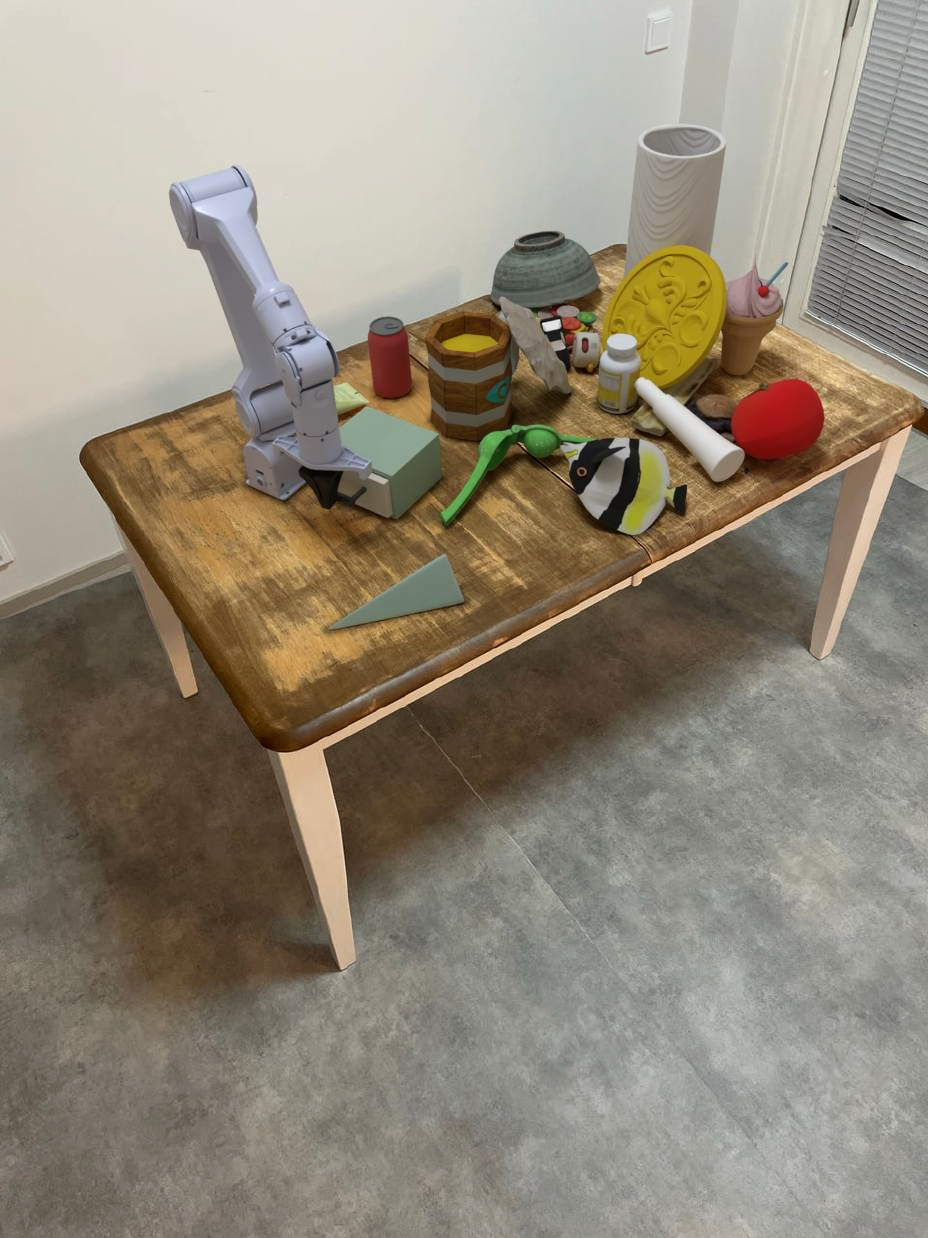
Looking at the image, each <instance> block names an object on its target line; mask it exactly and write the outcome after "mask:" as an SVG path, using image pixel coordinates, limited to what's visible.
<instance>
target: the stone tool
mask: <svg viewBox="0 0 928 1238" xmlns="http://www.w3.org/2000/svg"><path fill="white" fill-rule="evenodd" d="M499 303H500V309H501V311H502V312H503V315H504V317H505V318H506V320H507V322H508V326H509V329H510V331H511V334H512V336H513V338H514V340H515V342H516V344H517V345H518V346H519V350H520V351H521V353H522V354H523V355H524V357H525V358H526V360H527V362H528V363H529V364H528V365H529V366H530V369H531V370H532V372H533V373H534V374H535V375H536V376H537V377H539V378H540V379H541V380H542V381H543V383H544V385H545V388H547V390H550V391H551V390H552V389H553V388H554V387H555V389H557V390H558V391H559V392H560V393H562V394H565V395H568V394H569V393H572V391H573V389H572V387H571V385H570V382H569V376H568V370H566V368H565V365H564V363H563V362H562V361H561V360H559V358H558V357H557V355H556V353H555V351H554V349H553V347H552V346H551V344H550V342H549V339H548V338H547V336H546V335H544V333H543V331H542V329H541V327H540V325H539V323H538V322H537V320H536V318H535V317H534V313H533V312H532V311H531V308H523V307H521V306H520V305H517V304H514V303H512V302H511V301H509V300H508V299H506V298H505V297H500V299H499Z"/></svg>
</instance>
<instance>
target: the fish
mask: <svg viewBox="0 0 928 1238" xmlns="http://www.w3.org/2000/svg"><path fill="white" fill-rule="evenodd" d="M596 439H597V440H592V441H589V442H585V443H581V444H572V443H566V442H564V443H563V445H561V446H560V447H561V448H560V450H561V451H562V453H563V455H564V456H565V458H566V459H567V461H568V464H569V466H568V477H569V478H568V479H569V480H570V483H571V485H572V488H573V490H574V491H575V493H576V494H577V496H578V498H579V500H580V501H581V503H582V504H583V506H584V507H585V509H586V510H587V511H588V513H590V515H592V517H594V518H595V519H596V520H597V521H599V522H601V523H602V524H604V525H606V526H608V527H610V528H612V529H613V530H617V531H619V532H622V533H624V534H627V535H630V536H636V535H640V534H642V533H644V532H645V531H646V530H647V529H648V528H649V527H650V526H651V525H652V524H653V523H654V522H655V520H656V519H657V518H658V517H659V515H660V514H661V512H662V511H663V509H664V508H665V507H666V502H667V503H668V504H669V505H670V506H671V507H672V508H673V509H675V510H676V511H677V512H679V513H680V514H682V515H685V514H686V502H687V495H688V485H687V483H686V484H681V485H679V486H675V487H674V488H672V489H669V488H670V486H671V474H670V470H669V469H670V468H669V465H668V460H667V458H666V456H665V454H664V452H663V451H662V450H661V449H660V447H658V446H657V445H656V444H654V443H652V441H651V442H650V441H649V440H645V439H642V438H633V437H604V438H596Z"/></svg>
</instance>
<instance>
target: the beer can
mask: <svg viewBox="0 0 928 1238" xmlns="http://www.w3.org/2000/svg"><path fill="white" fill-rule="evenodd" d="M368 327H369V329H368V333H367V345H368V354H369V361H370V370H371V379H372V386H373V391H374V392H375V393H376V394H377V395H379V396H380V397H382V398H387V399H395V398H400V397H402V396H405V395H406V394H408V393H409V392H410V390H411V389H412V386H413V380H412V369H411V357H410V356H411V355H410V346H409V345H410V344H409V335H408V332H407V329H406V327H405V325H404V322H403V320H402V319H400V318H399V317H396V316H388V315H387V316H381V317H378V318H375V319H373V320H372V321H371V322H370V323H369V326H368Z"/></svg>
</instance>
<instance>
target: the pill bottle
mask: <svg viewBox="0 0 928 1238" xmlns="http://www.w3.org/2000/svg"><path fill="white" fill-rule="evenodd" d="M606 348H607V350H606V351H605V352H604V353H603V352H602V353H601V355H600V358H599V366H598V367H599V368H598V381H597V398H596V400H597V405H598V407H599V408H600V409H602V410H603V411H604V412H607V413H610V414H617V415H618V414H625V413H628V412H631V411H632V410H633V409H634V408H635V407H636V406H637V403H638V396H639V394H638V393H637V390H636V389H635V388H634V383H635V382H636V380H637V379H639V377H640V367H641V358H640V356H639V354H638V353H637V352H636V349H637V340H636V339H635V338H634V337H633V336H631V335H628V334H615V335H612V336H610V337H609V338H608V340H607V346H606Z"/></svg>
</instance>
